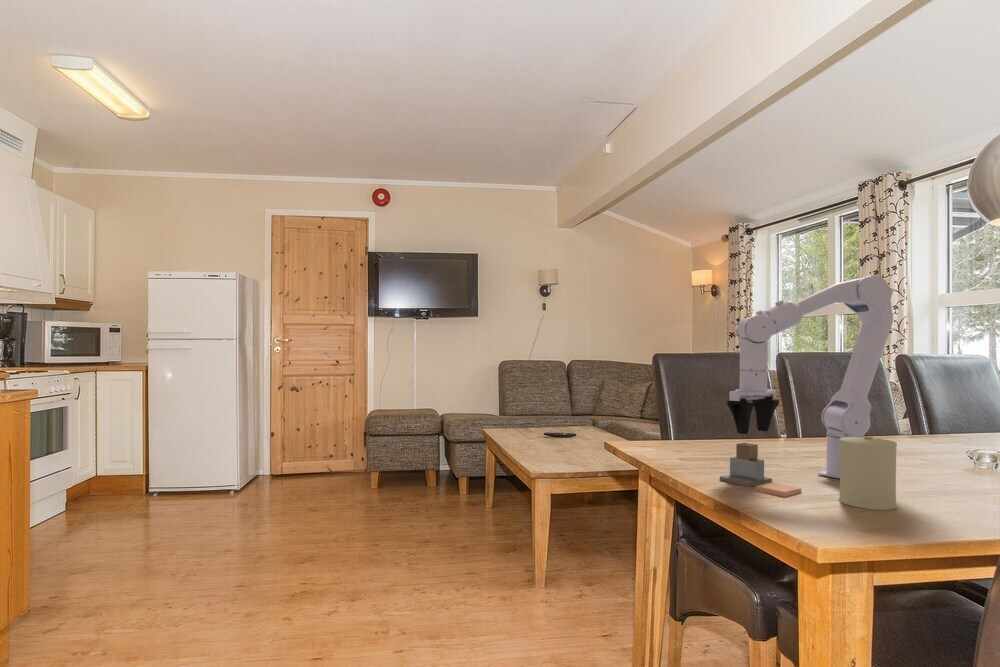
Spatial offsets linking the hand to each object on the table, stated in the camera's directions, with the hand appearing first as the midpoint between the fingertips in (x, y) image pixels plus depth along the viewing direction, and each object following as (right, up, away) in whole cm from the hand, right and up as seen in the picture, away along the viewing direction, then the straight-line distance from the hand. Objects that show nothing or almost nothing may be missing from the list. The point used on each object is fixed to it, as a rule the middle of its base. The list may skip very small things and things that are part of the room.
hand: (752, 432), depth 139 cm
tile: (+1, -9, -13) cm, 16 cm away
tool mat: (-4, -9, -6) cm, 12 cm away
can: (+12, -10, -23) cm, 28 cm away
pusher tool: (-4, -9, -7) cm, 12 cm away
